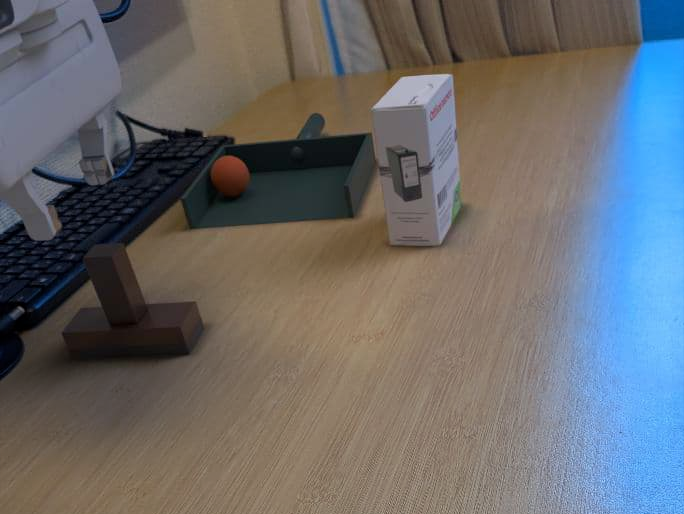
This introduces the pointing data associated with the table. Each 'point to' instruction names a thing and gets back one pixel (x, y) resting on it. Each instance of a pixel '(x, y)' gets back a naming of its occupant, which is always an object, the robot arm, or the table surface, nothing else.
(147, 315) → the brush
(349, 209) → the dustpan
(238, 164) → the ball
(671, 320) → the table surface
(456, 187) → the ink box
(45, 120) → the robot arm
